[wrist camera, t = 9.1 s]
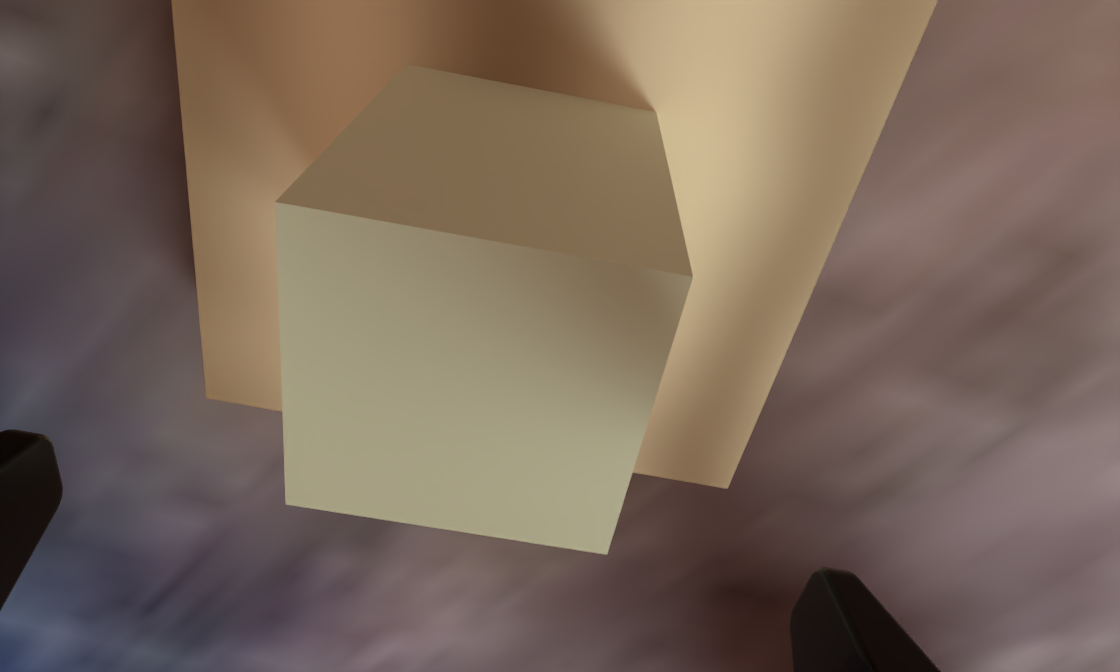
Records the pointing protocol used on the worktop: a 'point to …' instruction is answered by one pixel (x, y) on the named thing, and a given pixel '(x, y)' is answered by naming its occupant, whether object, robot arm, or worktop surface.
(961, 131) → the worktop surface
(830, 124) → the birch plinth
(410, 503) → the beige block
